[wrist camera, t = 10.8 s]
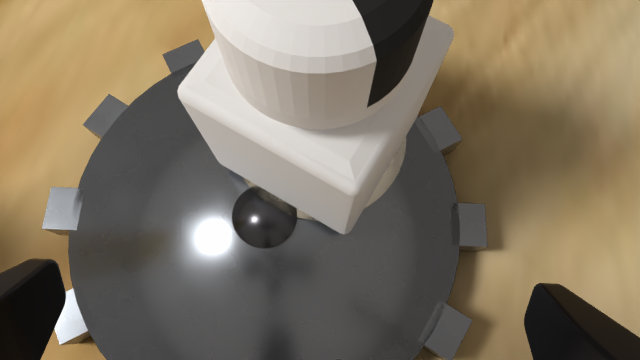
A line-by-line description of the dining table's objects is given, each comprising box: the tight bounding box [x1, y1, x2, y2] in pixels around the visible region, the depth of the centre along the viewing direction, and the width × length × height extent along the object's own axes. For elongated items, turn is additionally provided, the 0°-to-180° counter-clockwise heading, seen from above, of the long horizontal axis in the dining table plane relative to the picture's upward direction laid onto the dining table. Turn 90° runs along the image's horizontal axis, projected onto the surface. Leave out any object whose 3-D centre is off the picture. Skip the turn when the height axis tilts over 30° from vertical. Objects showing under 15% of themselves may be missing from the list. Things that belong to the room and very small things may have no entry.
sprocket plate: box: [42, 39, 488, 360], centre depth 22 cm, size 20×20×2 cm
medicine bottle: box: [177, 0, 454, 234], centre depth 17 cm, size 7×7×12 cm
